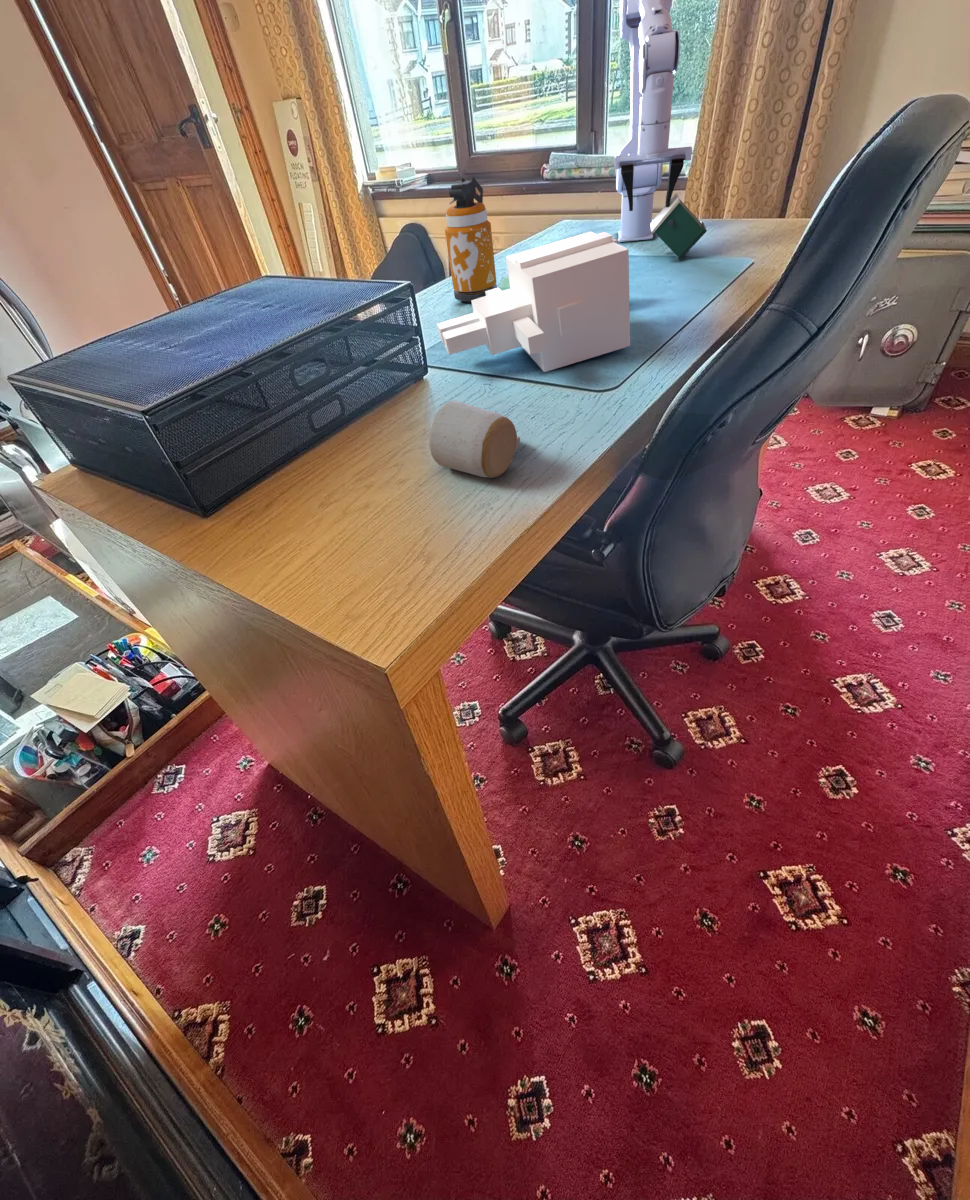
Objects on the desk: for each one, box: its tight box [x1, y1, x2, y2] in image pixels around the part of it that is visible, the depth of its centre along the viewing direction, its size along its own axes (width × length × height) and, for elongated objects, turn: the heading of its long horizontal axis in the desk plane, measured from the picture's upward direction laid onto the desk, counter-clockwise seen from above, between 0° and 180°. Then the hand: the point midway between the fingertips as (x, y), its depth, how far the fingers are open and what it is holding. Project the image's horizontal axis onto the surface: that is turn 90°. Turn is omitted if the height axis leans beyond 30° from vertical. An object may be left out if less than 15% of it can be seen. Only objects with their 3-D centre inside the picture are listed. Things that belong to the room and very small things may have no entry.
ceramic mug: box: [428, 400, 521, 479], centre depth 66 cm, size 11×8×8 cm
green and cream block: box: [651, 192, 708, 262], centre depth 117 cm, size 9×8×7 cm
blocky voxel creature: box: [436, 230, 631, 373], centre depth 87 cm, size 15×25×28 cm
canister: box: [444, 176, 498, 304], centre depth 111 cm, size 9×11×20 cm
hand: (649, 208), depth 116 cm, fingers open, 7 cm apart
